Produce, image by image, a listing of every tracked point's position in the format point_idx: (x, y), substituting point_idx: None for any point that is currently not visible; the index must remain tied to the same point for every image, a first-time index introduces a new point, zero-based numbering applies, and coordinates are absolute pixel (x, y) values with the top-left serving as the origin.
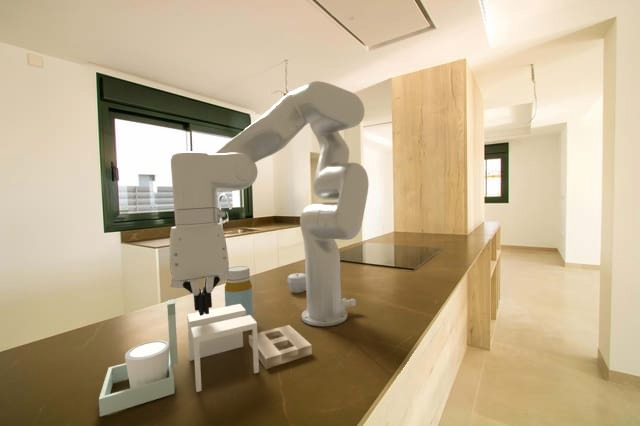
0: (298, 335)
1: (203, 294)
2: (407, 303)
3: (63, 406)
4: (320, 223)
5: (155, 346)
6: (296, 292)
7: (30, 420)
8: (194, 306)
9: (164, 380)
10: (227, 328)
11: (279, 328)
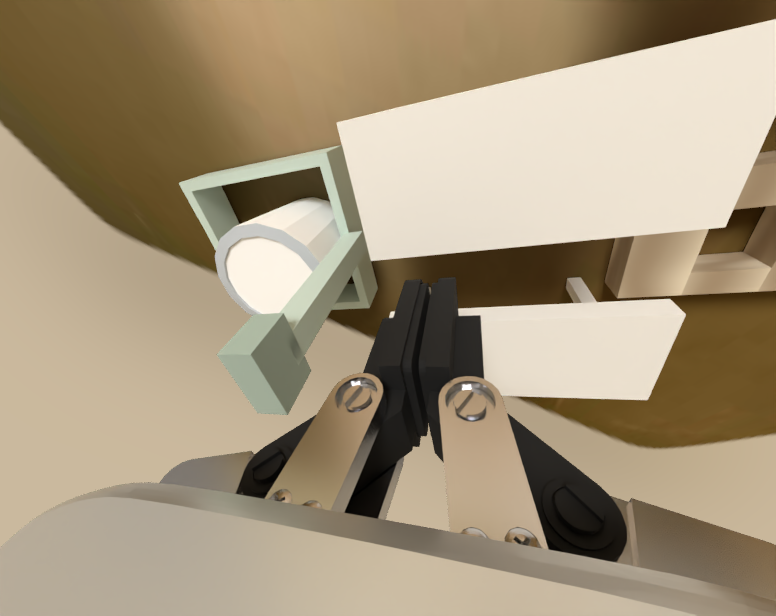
0: None
1: (430, 431)
2: None
3: (176, 228)
4: None
5: (286, 271)
6: None
7: (154, 248)
8: (382, 322)
9: (351, 308)
10: (518, 389)
11: None
